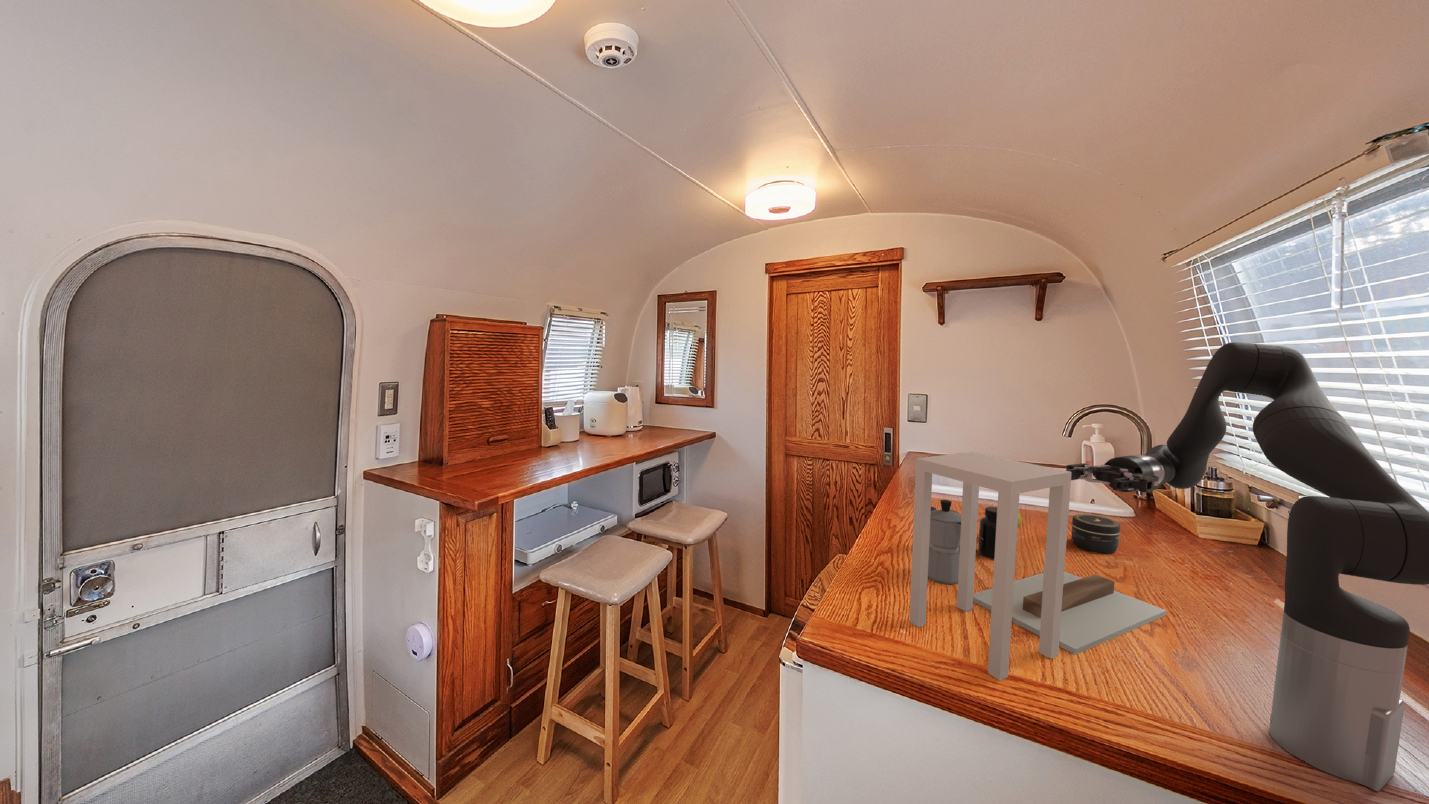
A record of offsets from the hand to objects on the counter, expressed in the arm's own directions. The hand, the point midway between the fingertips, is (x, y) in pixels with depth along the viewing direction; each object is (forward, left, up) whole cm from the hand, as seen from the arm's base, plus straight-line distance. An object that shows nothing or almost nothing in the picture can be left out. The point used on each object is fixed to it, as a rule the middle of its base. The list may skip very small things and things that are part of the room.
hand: (1089, 480), depth 94 cm
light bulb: (+27, -16, -26) cm, 41 cm away
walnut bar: (0, +4, -25) cm, 25 cm away
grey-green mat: (0, +6, -26) cm, 26 cm away
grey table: (0, +31, -26) cm, 40 cm away
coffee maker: (+21, +17, -26) cm, 37 cm away
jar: (+15, -34, -26) cm, 46 cm away
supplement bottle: (+23, -5, -26) cm, 35 cm away
